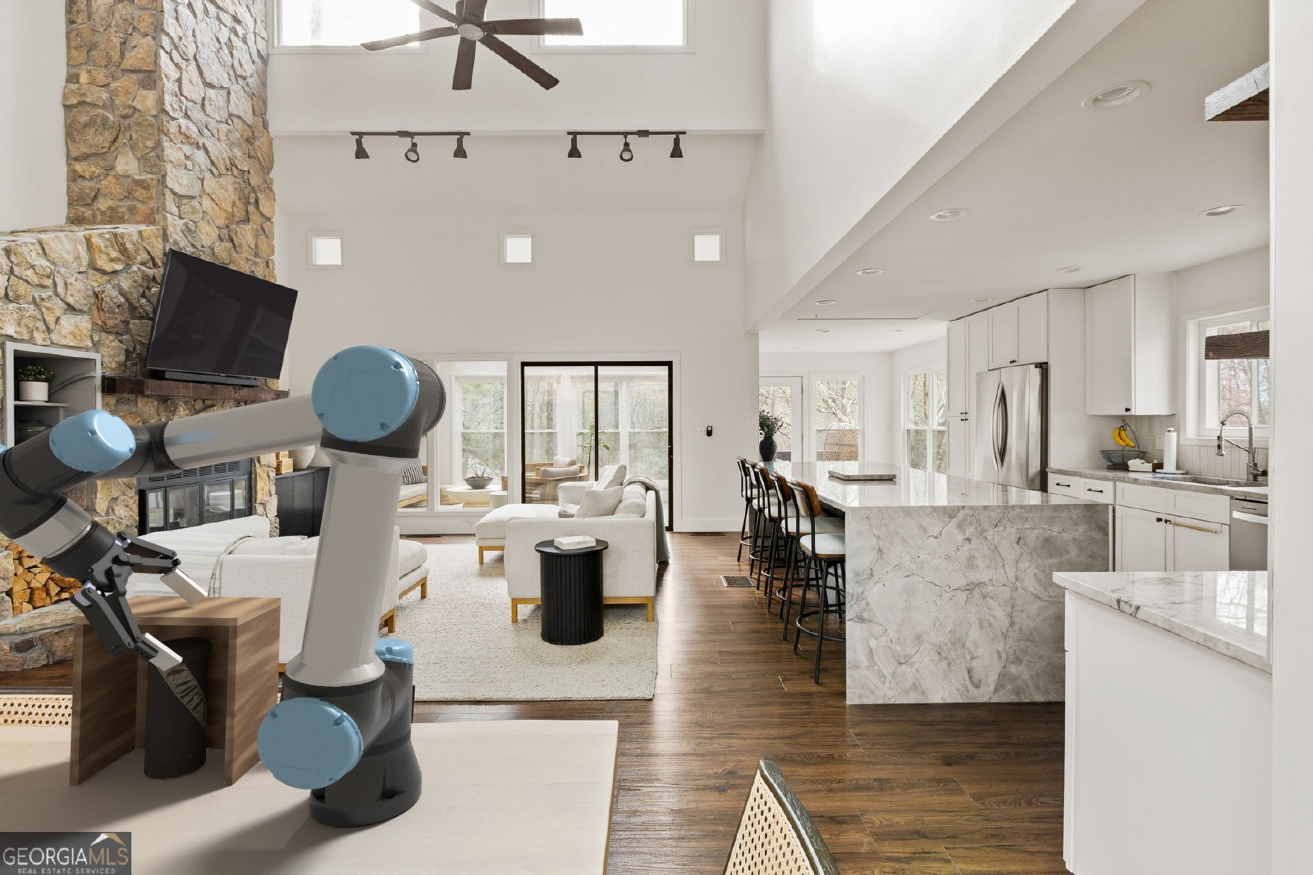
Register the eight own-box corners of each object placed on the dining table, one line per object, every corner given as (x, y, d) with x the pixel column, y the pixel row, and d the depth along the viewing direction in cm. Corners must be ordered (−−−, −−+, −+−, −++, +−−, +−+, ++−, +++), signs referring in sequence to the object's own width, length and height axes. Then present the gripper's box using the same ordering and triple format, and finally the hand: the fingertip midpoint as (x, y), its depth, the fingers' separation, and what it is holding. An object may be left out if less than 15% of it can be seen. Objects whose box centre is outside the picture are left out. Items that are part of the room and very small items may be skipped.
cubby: (276, 745, 115) (280, 597, 115) (232, 785, 102) (237, 618, 102) (132, 745, 113) (137, 595, 114) (69, 785, 100) (75, 616, 100)
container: (174, 785, 101) (178, 651, 102) (125, 777, 103) (129, 646, 103) (222, 758, 110) (226, 635, 110) (176, 752, 112) (180, 631, 112)
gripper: (80, 499, 101) (188, 586, 113) (-8, 618, 80) (135, 709, 92) (126, 475, 101) (229, 565, 113) (49, 589, 80) (185, 683, 92)
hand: (187, 630), depth 103 cm, fingers open, 13 cm apart
